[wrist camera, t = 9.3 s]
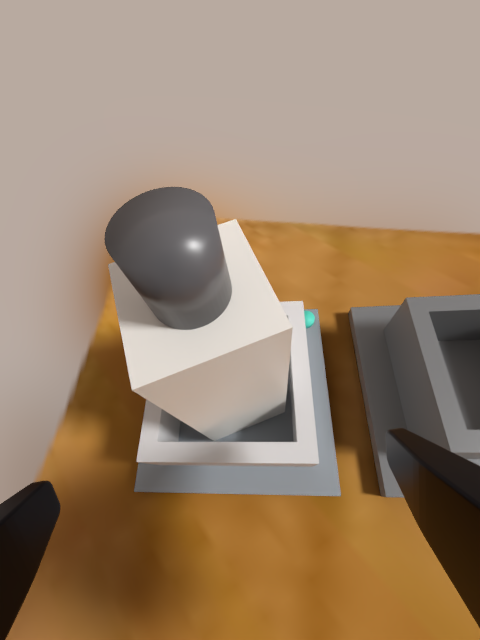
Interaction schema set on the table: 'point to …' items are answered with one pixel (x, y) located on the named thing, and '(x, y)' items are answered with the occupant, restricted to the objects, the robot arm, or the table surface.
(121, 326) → the plug
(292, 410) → the port panel
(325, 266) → the table surface
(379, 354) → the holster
